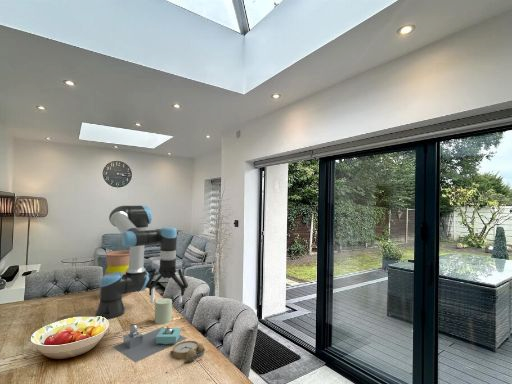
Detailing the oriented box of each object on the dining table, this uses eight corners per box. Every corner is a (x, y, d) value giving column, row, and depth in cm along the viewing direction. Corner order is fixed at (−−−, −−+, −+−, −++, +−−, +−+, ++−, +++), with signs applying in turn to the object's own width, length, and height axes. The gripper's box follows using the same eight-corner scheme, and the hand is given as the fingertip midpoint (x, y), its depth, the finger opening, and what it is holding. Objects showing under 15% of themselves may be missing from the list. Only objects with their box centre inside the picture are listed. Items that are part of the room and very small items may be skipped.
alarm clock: (184, 339, 128) (210, 340, 121) (185, 350, 127) (211, 352, 120) (166, 350, 118) (193, 352, 111) (167, 362, 117) (194, 365, 110)
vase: (94, 298, 191) (96, 254, 192) (115, 289, 212) (117, 249, 214) (123, 300, 187) (124, 255, 189) (141, 290, 209) (143, 250, 210)
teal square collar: (155, 343, 125) (156, 336, 125) (161, 334, 134) (161, 328, 134) (175, 343, 126) (175, 336, 126) (180, 334, 135) (180, 327, 135)
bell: (155, 341, 129) (156, 327, 130) (170, 335, 136) (170, 321, 136) (166, 346, 124) (166, 332, 125) (180, 340, 131) (180, 326, 131)
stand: (123, 344, 126) (123, 325, 126) (135, 339, 131) (136, 321, 131) (129, 348, 122) (130, 329, 123) (142, 343, 127) (143, 324, 128)
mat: (112, 348, 124) (112, 346, 124) (162, 328, 145) (162, 327, 145) (135, 364, 112) (135, 362, 112) (186, 340, 132) (187, 338, 132)
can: (166, 326, 147) (167, 303, 148) (151, 324, 149) (151, 302, 150) (174, 319, 156) (175, 298, 157) (160, 318, 158) (160, 296, 159)
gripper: (139, 259, 132) (137, 304, 131) (191, 260, 133) (190, 305, 132) (145, 256, 139) (143, 299, 139) (194, 257, 140) (193, 299, 140)
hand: (166, 302), depth 135 cm, fingers open, 13 cm apart
